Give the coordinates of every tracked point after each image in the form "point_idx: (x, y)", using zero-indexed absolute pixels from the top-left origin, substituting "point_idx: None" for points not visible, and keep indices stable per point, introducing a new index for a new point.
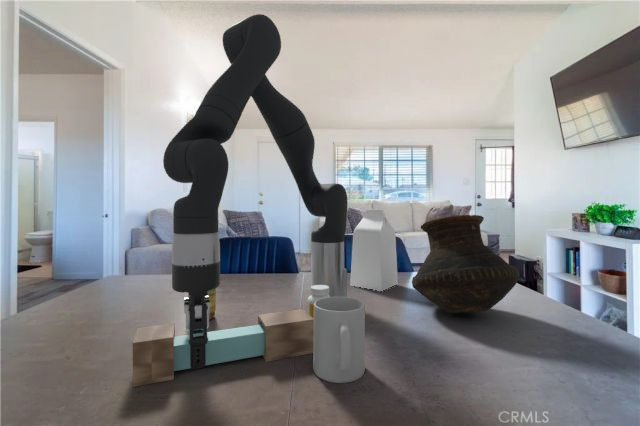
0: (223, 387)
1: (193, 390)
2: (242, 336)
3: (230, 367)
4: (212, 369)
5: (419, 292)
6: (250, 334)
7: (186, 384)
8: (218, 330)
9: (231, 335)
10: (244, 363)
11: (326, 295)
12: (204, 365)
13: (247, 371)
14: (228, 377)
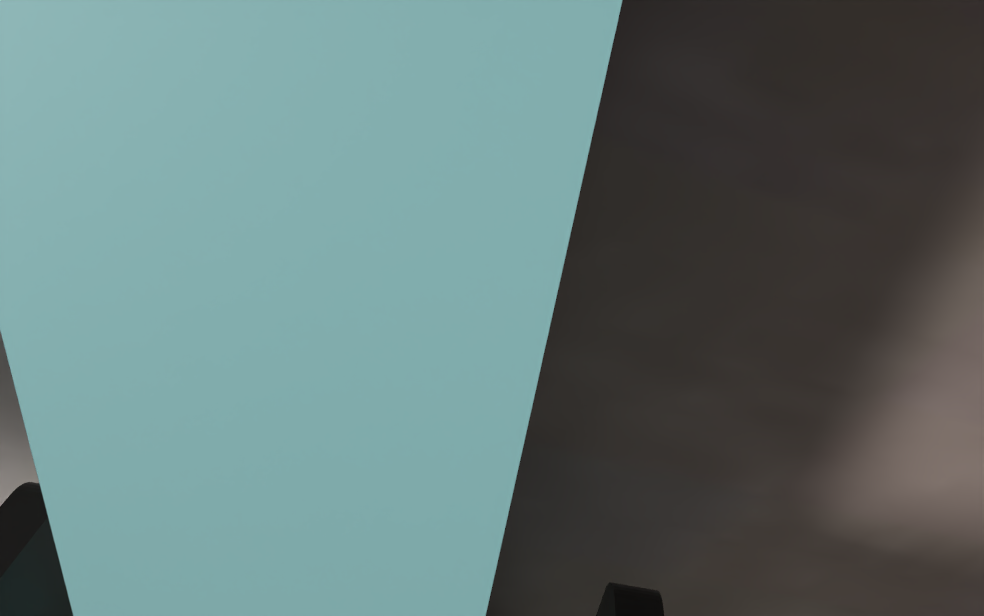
0: (942, 421)
1: (785, 588)
2: (553, 275)
3: (587, 253)
4: None
5: None
6: (602, 83)
7: None
8: (60, 548)
9: (419, 460)
10: None
11: None
12: (654, 595)
13: (830, 112)
14: (795, 334)
